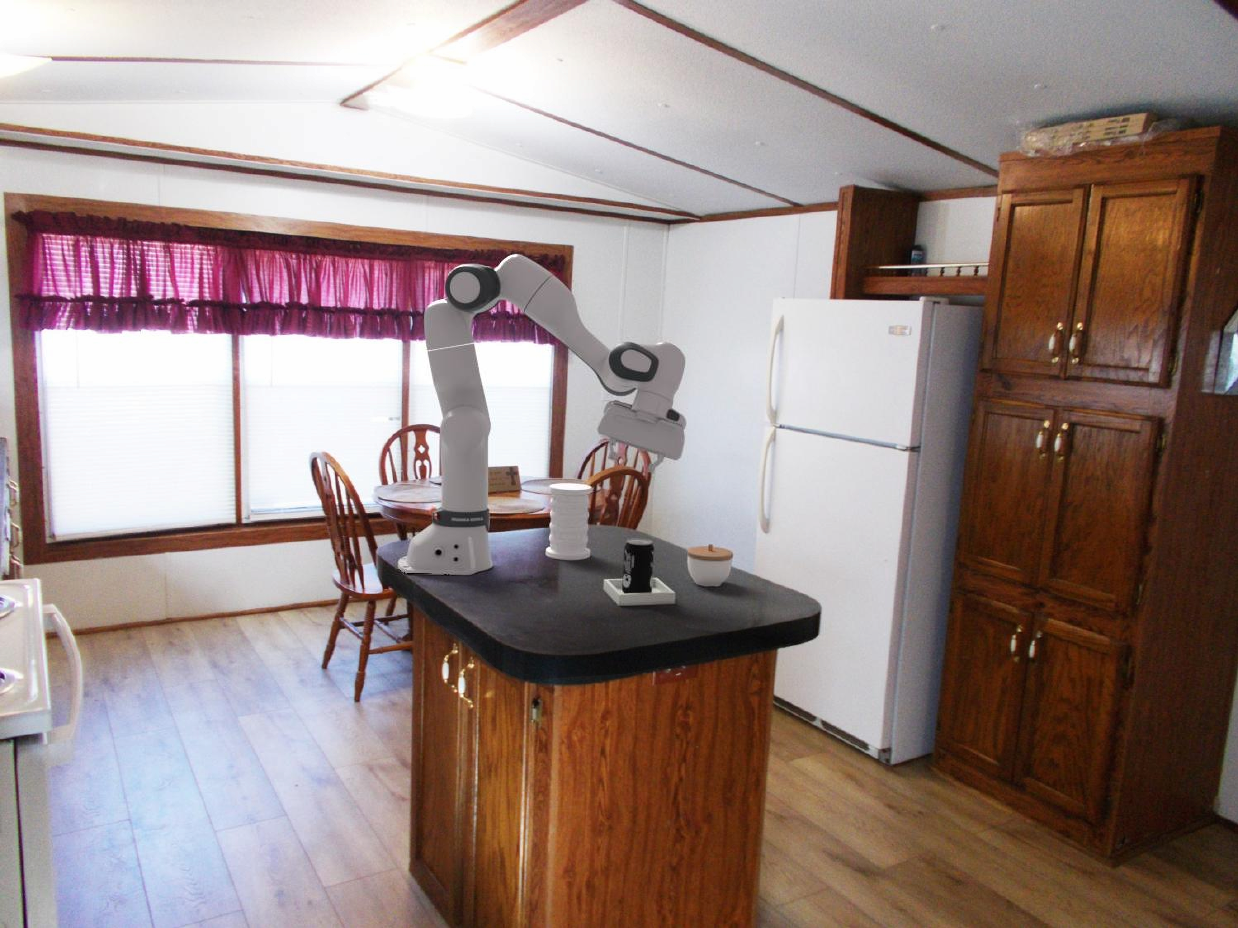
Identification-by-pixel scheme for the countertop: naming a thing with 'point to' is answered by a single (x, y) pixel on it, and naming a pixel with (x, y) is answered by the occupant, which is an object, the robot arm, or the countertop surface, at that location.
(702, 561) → the lidded jar
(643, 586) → the beverage can
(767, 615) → the countertop surface
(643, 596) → the tray
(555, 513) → the decorative container
